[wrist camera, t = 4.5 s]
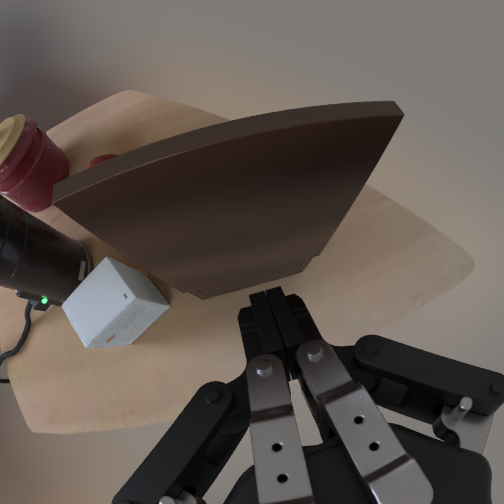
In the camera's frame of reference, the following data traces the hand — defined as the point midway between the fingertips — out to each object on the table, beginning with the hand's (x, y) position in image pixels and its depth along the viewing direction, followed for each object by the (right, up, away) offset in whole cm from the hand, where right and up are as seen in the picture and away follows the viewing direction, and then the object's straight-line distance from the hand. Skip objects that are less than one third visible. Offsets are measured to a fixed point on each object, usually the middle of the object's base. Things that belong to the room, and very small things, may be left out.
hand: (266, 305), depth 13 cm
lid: (-1, +4, +4) cm, 5 cm away
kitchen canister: (-39, +16, +27) cm, 50 cm away
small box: (-15, -5, +20) cm, 26 cm away
